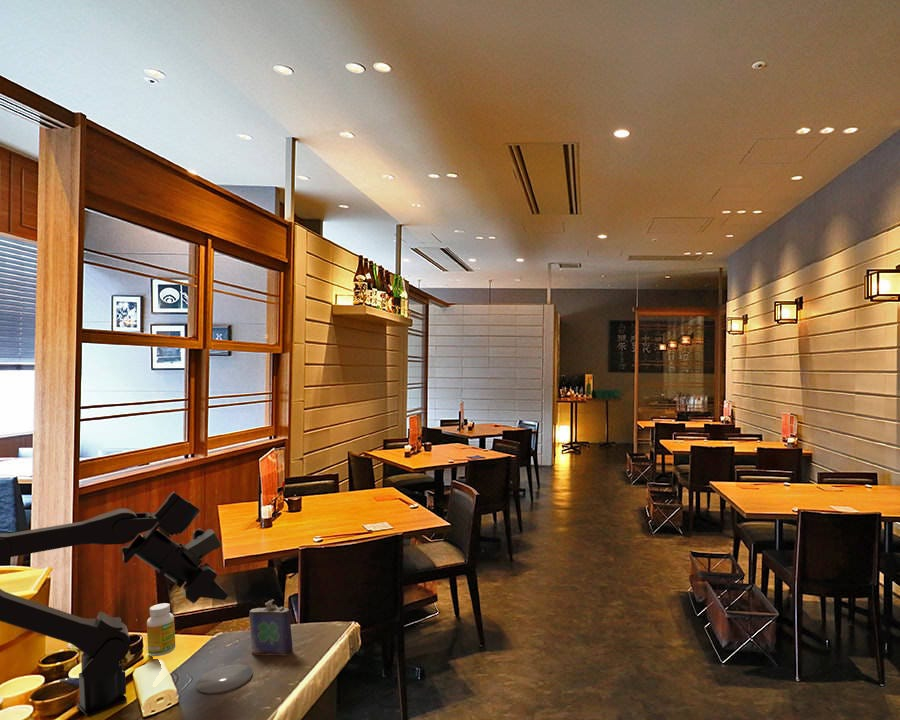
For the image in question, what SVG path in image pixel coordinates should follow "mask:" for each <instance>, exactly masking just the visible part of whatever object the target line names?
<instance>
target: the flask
mask: <svg viewBox="0 0 900 720" xmlns="http://www.w3.org/2000/svg"><path fill="white" fill-rule="evenodd" d="M274 601H275V600H274V599H270V600H268V601H267V602H265V603H264V605H265V606H266V607H257V608H251V610H249V614H248V616H249V622H250V623H249V625H250V644H251V646H250V649H251V650H250V651H251V654H253V655H257V656H258V655H264V656H272V655H274V656H277V655H278V656H289V655H291V654H293V652H294V651H293V650H294V649H293V637H292V625H291V611H290V609H289V608H288V607H287V608H286V607H284V606H280V607H278V606H277V605H276V604H273V602H274Z"/></svg>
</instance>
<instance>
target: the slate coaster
mask: <svg viewBox="0 0 900 720" xmlns="http://www.w3.org/2000/svg"><path fill="white" fill-rule="evenodd" d="M252 677H253V669H252V668H251V666H248V665H245V664H240V663H239V664H237V663H236V664H235V663H234V664H229V665H224V666H218V667H216V668H213V669H212V670H209V671H208V672H205V673H204V674H202V675H201V676H200V677H199V678H198V679H197V681H196V689H197V691H199V692H200V693H202V694H207V695H209V694H212V695H214V694H222V693H227V692H229V691H232V690H236V689H238V688H240V687H242V686H243V685H245V684H247V683H248V682H249V681H250V680H251V679H252Z"/></svg>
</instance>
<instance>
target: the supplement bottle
mask: <svg viewBox="0 0 900 720" xmlns="http://www.w3.org/2000/svg"><path fill="white" fill-rule="evenodd" d="M149 616H150V617H148V619H147V621H146V634H147V635H146V636H147V654H148V655H149V656H150V657H160V656H165V655H167V654H170V653H172V652H173V651H174V650H175V649H176V633H175V632H176V629H175V616H174V614H173V613H171V604H170V603H167V602H166V603H165V602H163V603H158V604H155V605H152V606H150V607H149Z"/></svg>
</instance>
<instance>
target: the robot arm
mask: <svg viewBox="0 0 900 720" xmlns="http://www.w3.org/2000/svg"><path fill="white" fill-rule="evenodd" d="M201 512H202V510H201V509H200V508H198V507H197V506H195V505H194V504H193V503H192V502H190V501H189V500H187V499H186V498H184V497H182V496H180V495H179V494H177V493H176V492H175V491H171V493H170V494H169V495H167V498H166V500H165V501H164V502H163V503H162V504H161V505H160V506H159V507H158V509H157V510H156V511H155V512H134V511H133V510H132V509H129V508H123V507H122V508H116V509H114V510H110V511H107V512H104V513H102V514H99V515H96V516H94V517H91V518H89V519H88V518H87V519H86V520H83V521H77V522H70V523H66V524H58V525H53V526H48V527H47V526H46V527H41V528H35V529H29V530H22V531H16V532H11V533H8V532H7V533H6V532H5V533H2V532H1V533H0V564H1V563H2V562H3V561H4V560H6V559H8V558H12V557H18V556H19V557H21V556H25V555H30V554H36V553H40V552H41V553H42V552H46V551H52V550H58V549H63V548H69V547H73V546H74V547H75V546H81V545H99V546H100V545H101V546H102V545H103V546H104V545H123V546H121V547H120V548H121V551H122V561H123V563H124V564H128V563H129V562H130V561H131V559H132V558H133V557H134V556H136V557H137V558H138V559H140V560H141V561H143V562H144V563H146V564H147V565H149V566H150V567H152V568H153V569H155V570H156V572H157V573H158V574H160V575H161V576H162V577H164V576H165V577H166V578H167V579H169V580H171V581H172V582H173V583H174V584H175V586H177V587H179V588H182V594H183V597H184V598H185V599H186V600H188V601H189V602H191V603H193V604H195V603H197V602H198V601H199V599H200V598H203V599H204V598H205V599H214V600H220V601H226V600H227V598H228V597H229V595H228V593H227V592H226V591H225V590H224V589H223V587H221V585H220V584H219V583H218V582H216V578H217V576H218V572H216V571H215V570H214V569H213V568H212V566H210V564H209V563H208V562H206V563H205V564H202V563H203V559H204V557H205V556H207V555H209V554H210V553H212V552H213V551H215V550H218V549H220V548H221V547H222V542H221V541H220V538H219V537H218V535H217V534H216V532H215V531H214V530H213V529H206V531H205V530H203V529H201V528H199V527H198V528H197V529H195V530H193V531H192V539H190V540H189V542H188V543H186V544H185V545H184V544H183V543H181V542H179V543H178V542H175V541H174V540H173V539H171V538H170V537H168V536H167V535H165V534H164V533H163V532H162V531H160V530H158V529H159V528H160V529H162V530H163V531H165V532H166V533H167V534H169V535H170V536H172V537H174V536H175V535H176V536H178V534H179V535H182V534H183V533H184V532H185V531H186V529H187V528H189V526H190V525H191V524H192V523H193V522H194V520H195V519H196V518H197V517H198V516H199V515H200V513H201ZM142 533H144V534H142ZM130 542H131V543H130ZM128 543H129V544H128ZM125 544H128V545H125ZM97 614H98V615H97V616H96V618H86V617H81V616H77V615H74V614H71V613H68V612H66V611H63V610H60V609H58V608H54V607H50V606H48V605H44V604H42V603H40V602H37V601H34V600H30V599H27V598H25V597H21V596H19V595H15V594H13V593H9V592H6V591H4V590H3V589H2V588H0V622H1V623H5V624H8V625H11V626H14V627H18V628H21V629H23V630H27V631H30V632H33V633H37V634H39V635H43V636H46V637H49V638H52V639H55V640H58V641H61V642H64V643H69V644H71V645H72V646H74V647H76V648H77V649H78V650H80V652H82V654H81V656H80V657H81V658H80V659H81V660H80V661H81V663H80V665H81V666H80V667H81V672H80V673H78V688H79V690H78V691H79V702H77V703H76V706H77V708H78V709H80V711H81V713H82V712H83V714H84V715H85V716H86V717H91V716H94V715H95V714H98V713H101V712H103V711H105V710H108V709H111V708H113V707H115V706H117V705H120V704H122V703H125V702H126V701H128V698H127V696H125V695H126V693H127V682H126V679H127V678H126V671H125V670H123V664H122V663H121V660H123V658H125V657H126V656H127V654H128V653H129V652H130V650H131V639H130V634H129V630H128V627H127V625H126V624H125V623H124V622H122V618H121V616H119V617H118V616H117V617H116V616H115V617H114V616H110V615H109V614H107V613H106V612H103V611H99V612H98V613H97Z"/></svg>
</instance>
